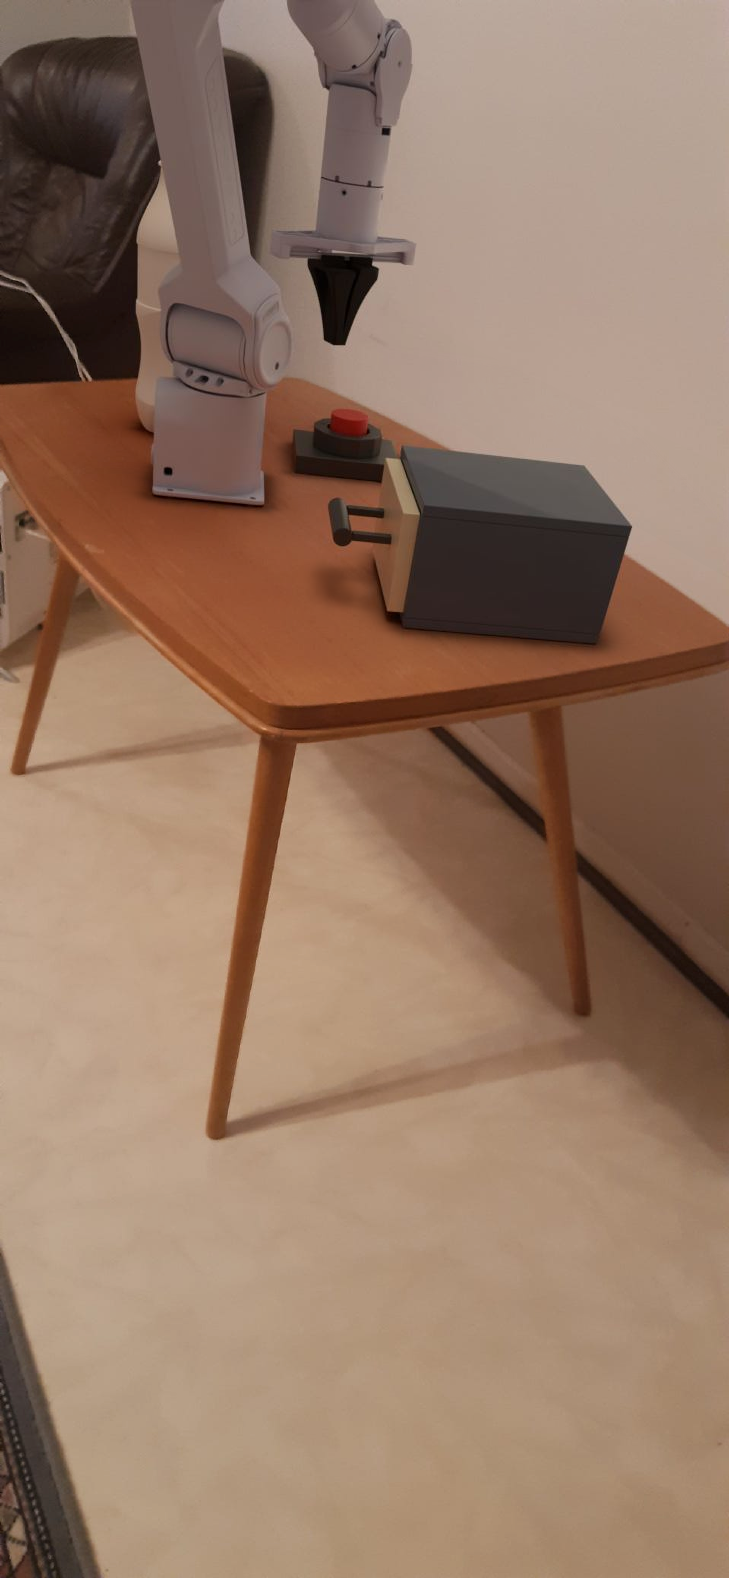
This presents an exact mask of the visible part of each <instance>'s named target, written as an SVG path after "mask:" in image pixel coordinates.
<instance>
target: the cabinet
mask: <svg viewBox="0 0 729 1578" xmlns="http://www.w3.org/2000/svg"><path fill="white" fill-rule="evenodd" d="M399 459H400V460H401V462H402V465H403V468H404V470H405V473H406V476H407V479H408V482H409V484H410V487H411V490H412V493H413V496H414V494H415V497H416V500H417V502H418V505H419V508H420V511H421V514H420V520H419V526H418V532H417V538H416V543H415V549H414V555H413V561H412V566H411V572H410V578H409V584H408V590H407V595H406V601H405V607H404V612H398V614H399V617H400V621H401V625H402V628H403V629H415V630H424V631H425V630H427V631H438V632H449V633H450V632H451V633H463V634H473V635H474V634H475V635H487V636H499V637H509V638H510V637H511V638H521V639H522V638H523V639H533V640H547V641H558V642H569V643H570V642H571V643H581V644H591V645H594V644H595V645H596V644H598V643H599V639H600V635H601V633H602V629H603V626H604V622H605V619H606V616H607V613H608V610H609V606H610V603H611V599H612V596H613V593H614V589H615V586H616V582H617V579H618V576H619V572H620V569H621V566H622V563H623V558H624V555H625V552H626V549H627V546H628V542H629V539H630V536H631V532H632V530H633V529H632V528H633V525H632V524H631V523H630V522H629V520H628V519H627V518H626V516H625V515H624V514H623V512H622V511H621V510H620V509H619V508H618V506H617V505H616V504H615V502H614V501H613V500H612V499H611V498H610V496H609V495H608V494H607V492H606V491H605V490H604V488H603V487H602V486H601V484H600V483H599V482H598V481H597V480H596V478H595V477H594V475H592V473H591V472H590V471H589V469H588V468H587V467H586V465H583V464H575V463H566V462H565V463H564V462H557V461H548V460H540V459H528V458H520V457H511V456H503V455H493V454H484V453H476V452H475V453H474V452H465V451H457V450H448V449H440V448H431V447H423V446H422V447H421V446H414V445H413V446H412V445H404V444H403V445H401V449H400V456H399Z"/></svg>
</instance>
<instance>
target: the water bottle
mask: <svg viewBox="0 0 729 1578" xmlns="http://www.w3.org/2000/svg"><path fill="white" fill-rule="evenodd" d="M157 164H158V166H160V174H159V180H158V183H157V186H156V189H155V191H154V193H153V195H152V196H151V198H150V201H149V202H148V205H147V206H146V209H145V210H144V213H143V214H142V217H141V220H140V221H139V225H138V227H137V233H136V244H137V296H136V297H137V298H136V300H135V315H136V319H137V324H138V329H139V336H140V361H139V370H138V376H137V380H136V384H135V388H134V389H135V396H134V397H135V399H134V400H135V407H136V411H137V414H138V418H139V420H140V422H141V424H142V426H143V428H144V429H145V430H146V431H148V432H150V433H152V434H154V410H155V393H156V383H157V378H158V377H175V376H173V364H172V363H171V362H170V361H169V360H168V359H167V358H166V356H165V354H164V352H163V349H162V345H161V340H160V319H161V305H160V299H159V294H158V288H159V286H160V284H161V283H162V281H163V279H164V278H165V276H166V275H167V274H168V273H169V272H170V271H171V270H172V269H173V268H174V267H175V266H176V265H178V264H179V263H180V262H181V261H180V256H179V251H178V246H177V241H176V235H175V230H174V225H173V220H172V215H171V210H170V205H169V199H168V194H167V189H166V184H165V179H164V174H163V168H162V163H161V159H160V160H159V161H158V162H157Z"/></svg>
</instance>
